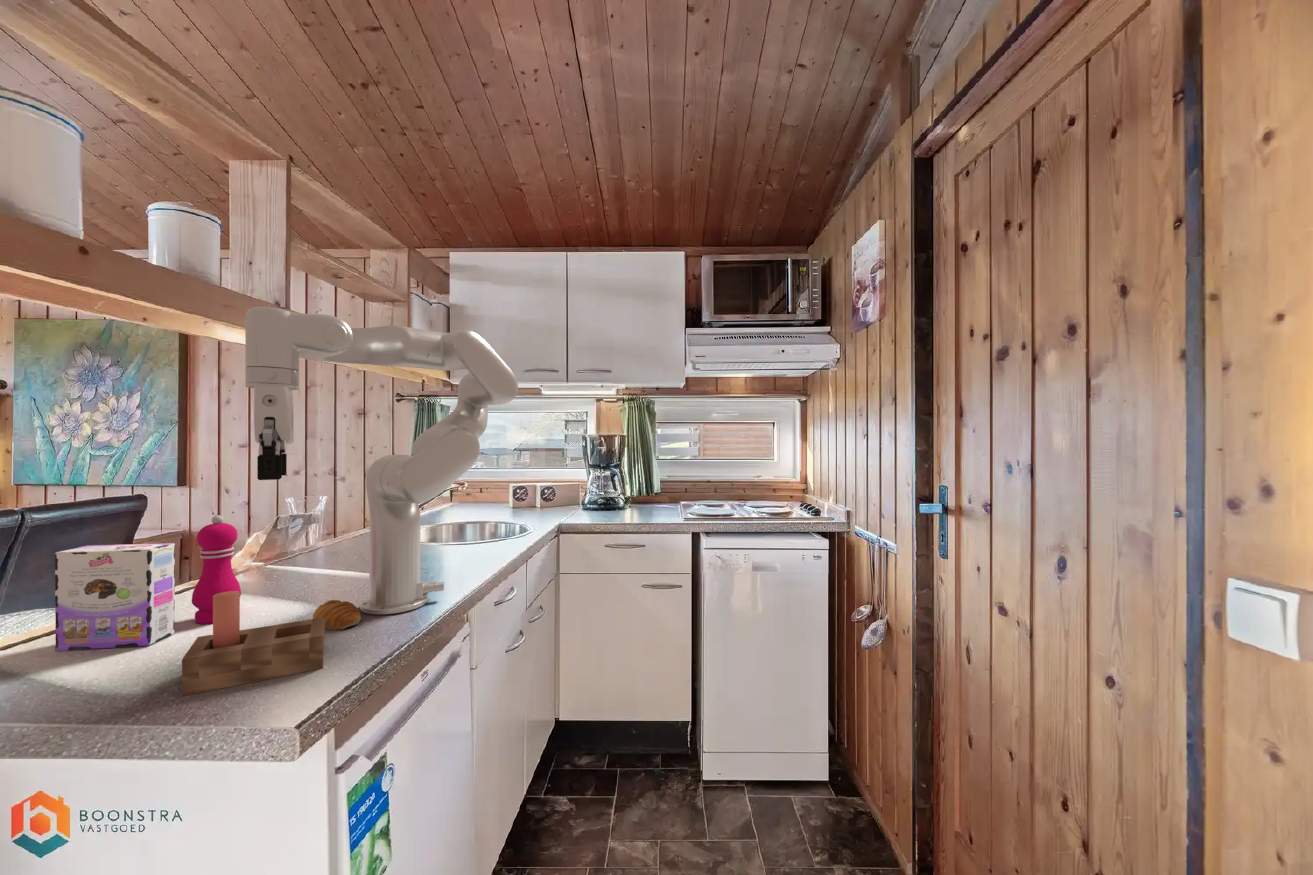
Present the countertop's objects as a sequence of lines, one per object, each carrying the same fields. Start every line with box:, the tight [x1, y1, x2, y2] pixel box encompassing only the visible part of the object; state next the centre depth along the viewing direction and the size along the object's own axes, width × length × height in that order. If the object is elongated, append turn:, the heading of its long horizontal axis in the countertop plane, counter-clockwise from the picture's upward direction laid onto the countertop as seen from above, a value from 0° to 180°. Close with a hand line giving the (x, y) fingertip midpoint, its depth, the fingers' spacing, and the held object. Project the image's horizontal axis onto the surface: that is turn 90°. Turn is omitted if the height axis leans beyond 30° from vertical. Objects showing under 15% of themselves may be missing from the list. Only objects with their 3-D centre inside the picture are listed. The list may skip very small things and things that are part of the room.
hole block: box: [181, 617, 326, 697], centre depth 76 cm, size 16×9×5 cm, turn 122°
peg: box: [212, 591, 241, 649], centre depth 74 cm, size 3×3×10 cm
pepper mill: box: [191, 514, 242, 625], centre depth 97 cm, size 7×7×20 cm
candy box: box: [54, 542, 176, 652], centre depth 86 cm, size 14×6×16 cm, turn 99°
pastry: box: [312, 599, 362, 631], centre depth 95 cm, size 9×7×4 cm
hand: (272, 477), depth 88 cm, fingers open, 9 cm apart
